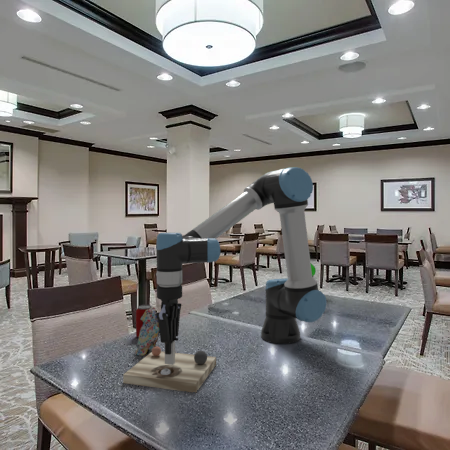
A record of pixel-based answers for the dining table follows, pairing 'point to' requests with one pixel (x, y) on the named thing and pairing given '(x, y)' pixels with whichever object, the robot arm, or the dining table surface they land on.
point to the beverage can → (139, 314)
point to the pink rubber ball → (156, 351)
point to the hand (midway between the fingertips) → (169, 363)
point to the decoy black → (200, 357)
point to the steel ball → (165, 372)
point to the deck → (181, 372)
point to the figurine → (148, 332)
